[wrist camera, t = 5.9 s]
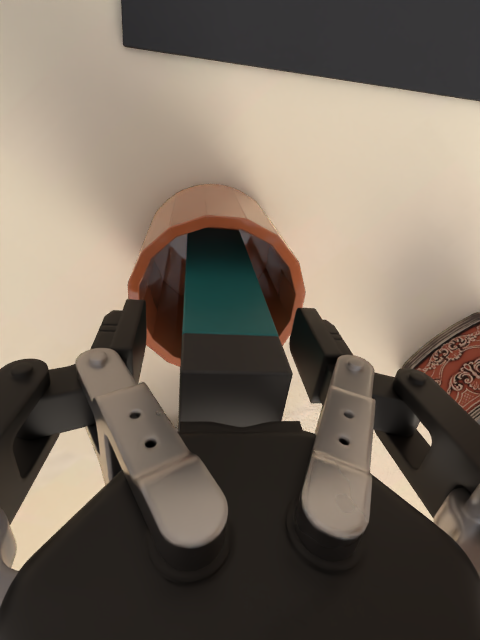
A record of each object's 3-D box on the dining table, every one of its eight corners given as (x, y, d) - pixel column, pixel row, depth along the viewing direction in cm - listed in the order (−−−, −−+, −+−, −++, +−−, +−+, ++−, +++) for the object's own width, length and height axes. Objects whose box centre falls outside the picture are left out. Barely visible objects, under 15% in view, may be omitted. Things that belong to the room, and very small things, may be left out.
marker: (185, 274, 23) (177, 451, 11) (187, 226, 22) (180, 371, 10) (234, 277, 24) (275, 449, 12) (239, 230, 22) (294, 373, 10)
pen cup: (148, 303, 24) (131, 371, 18) (145, 176, 20) (123, 207, 14) (264, 308, 26) (287, 374, 19) (283, 190, 22) (321, 224, 15)
